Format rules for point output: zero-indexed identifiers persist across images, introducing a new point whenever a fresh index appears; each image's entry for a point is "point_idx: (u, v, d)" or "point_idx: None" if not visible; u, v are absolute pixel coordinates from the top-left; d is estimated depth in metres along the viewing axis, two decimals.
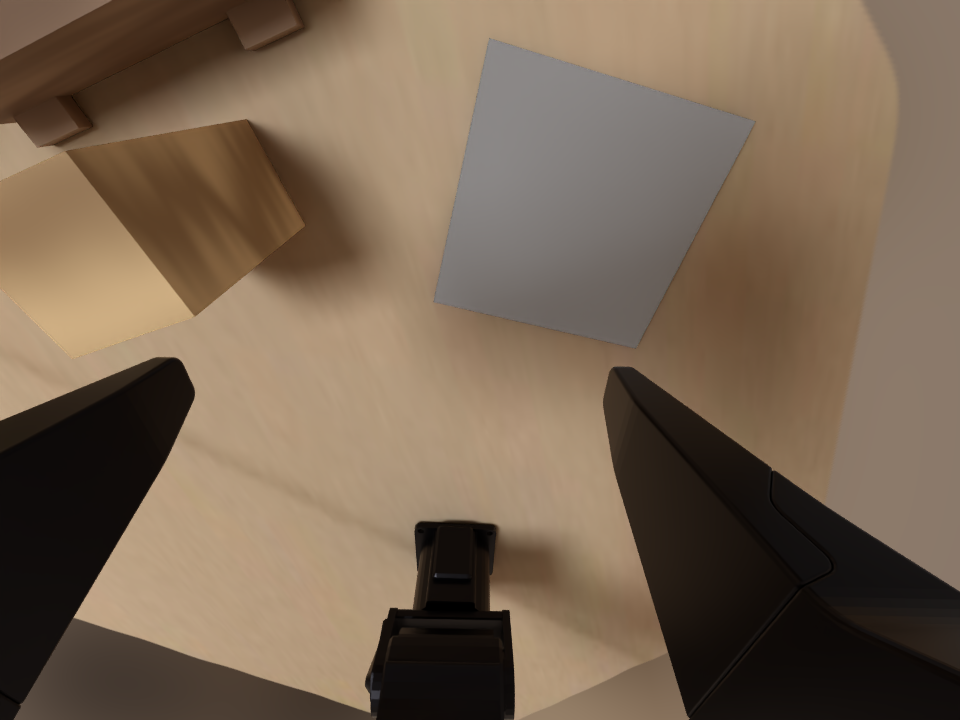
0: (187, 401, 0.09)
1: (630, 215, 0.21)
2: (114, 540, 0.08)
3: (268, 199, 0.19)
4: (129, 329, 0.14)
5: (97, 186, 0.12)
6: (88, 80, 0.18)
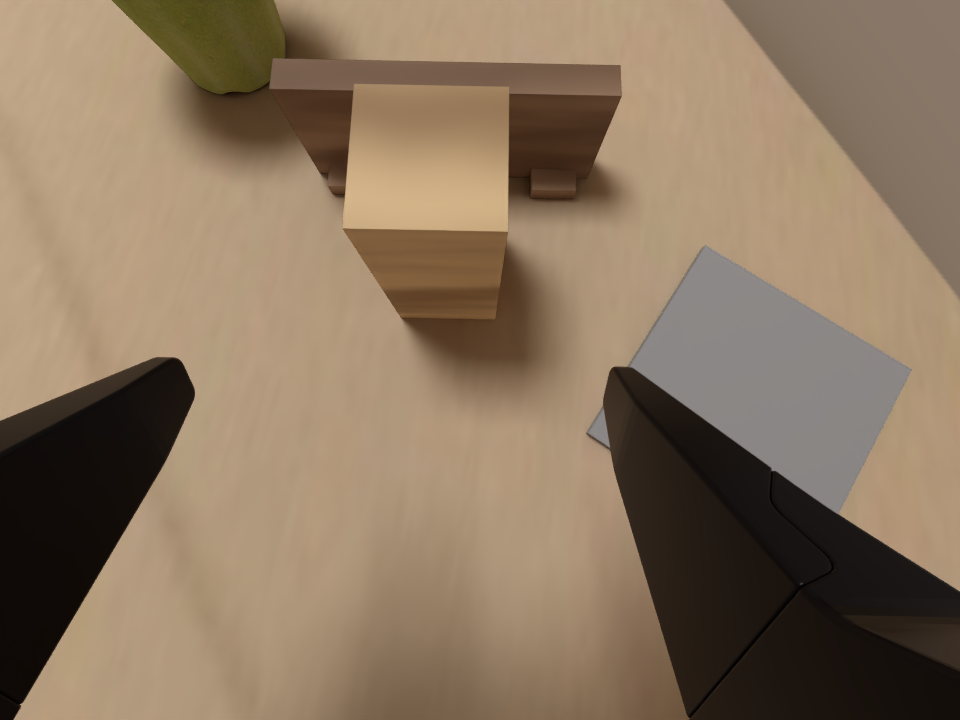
0: (187, 401, 0.09)
1: (804, 412, 0.22)
2: (114, 540, 0.08)
3: None
4: (432, 220, 0.13)
5: (508, 116, 0.14)
6: None
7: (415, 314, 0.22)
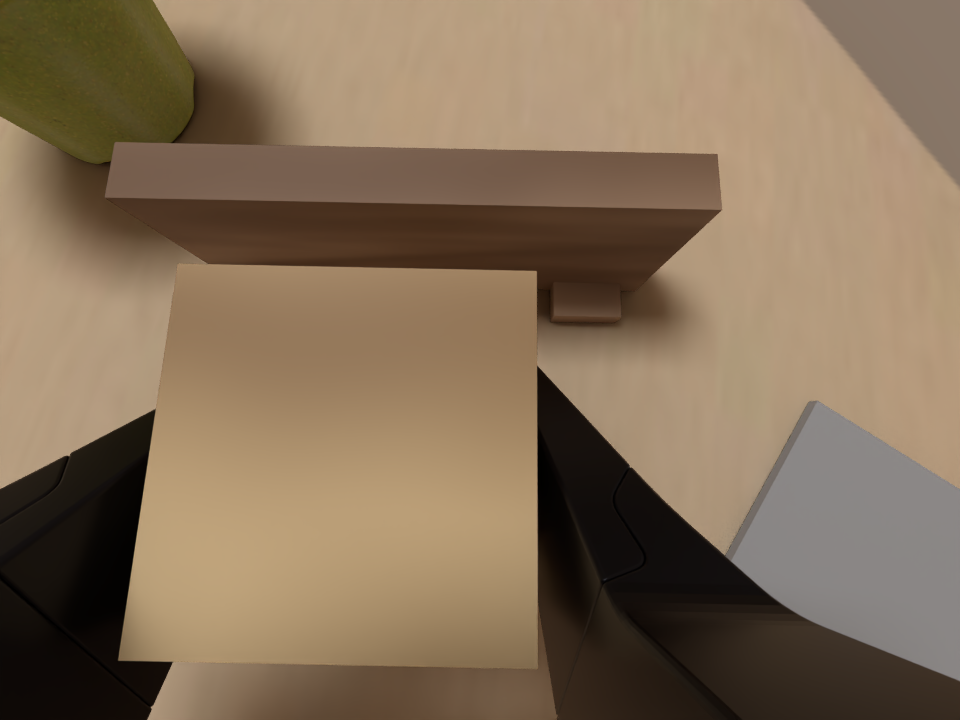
0: None
1: None
2: None
3: None
4: (346, 638, 0.05)
5: (535, 339, 0.06)
6: None
7: None
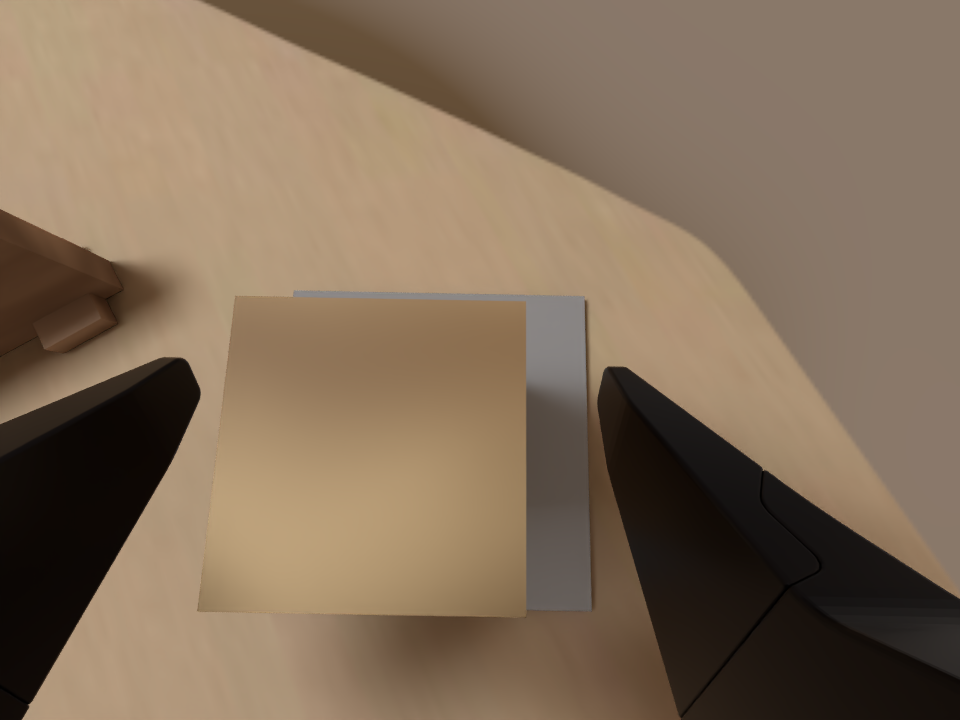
0: (193, 401, 0.09)
1: None
2: (120, 540, 0.08)
3: None
4: (375, 594, 0.07)
5: (525, 356, 0.07)
6: None
7: None
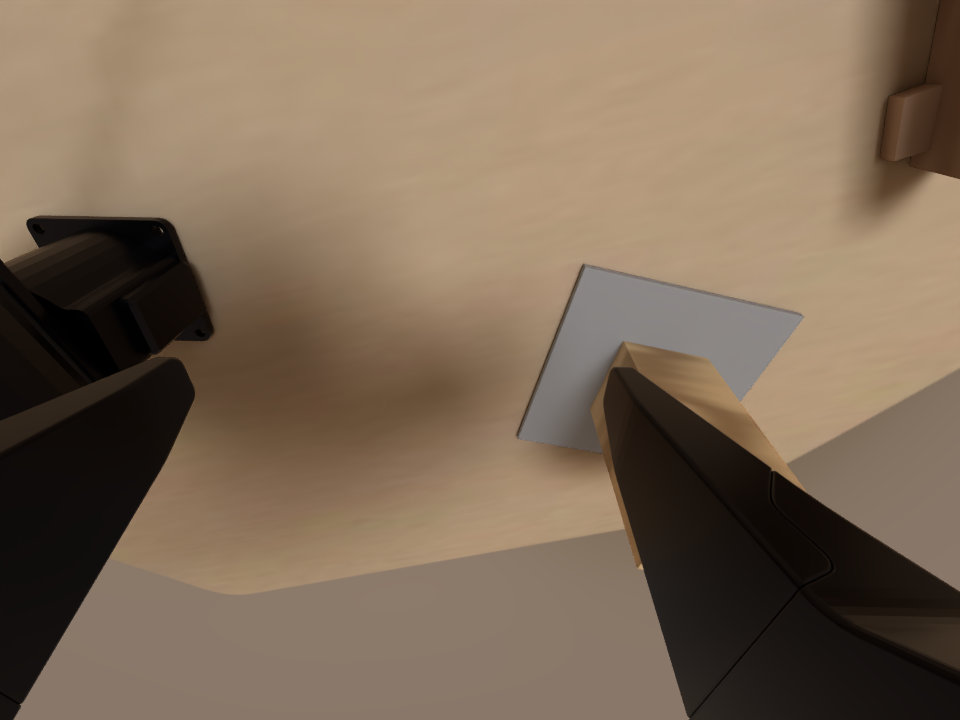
0: (187, 401, 0.09)
1: None
2: (114, 540, 0.08)
3: None
4: None
5: None
6: None
7: (620, 360, 0.23)
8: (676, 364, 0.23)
